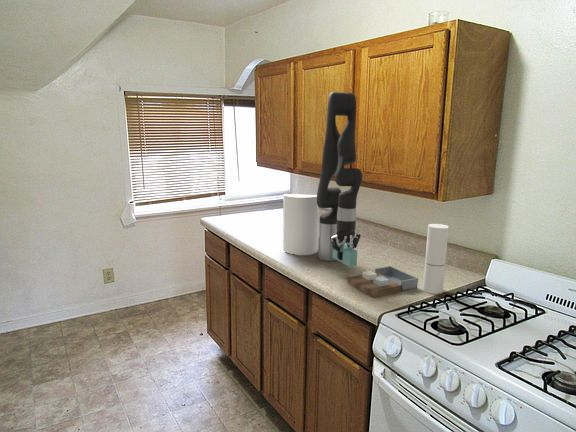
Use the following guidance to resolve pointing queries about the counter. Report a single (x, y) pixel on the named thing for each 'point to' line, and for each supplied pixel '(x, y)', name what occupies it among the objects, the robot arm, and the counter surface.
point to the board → (373, 286)
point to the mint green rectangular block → (347, 256)
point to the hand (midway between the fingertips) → (344, 258)
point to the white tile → (369, 275)
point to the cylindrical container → (435, 258)
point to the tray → (398, 277)
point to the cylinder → (300, 224)
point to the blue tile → (381, 281)
